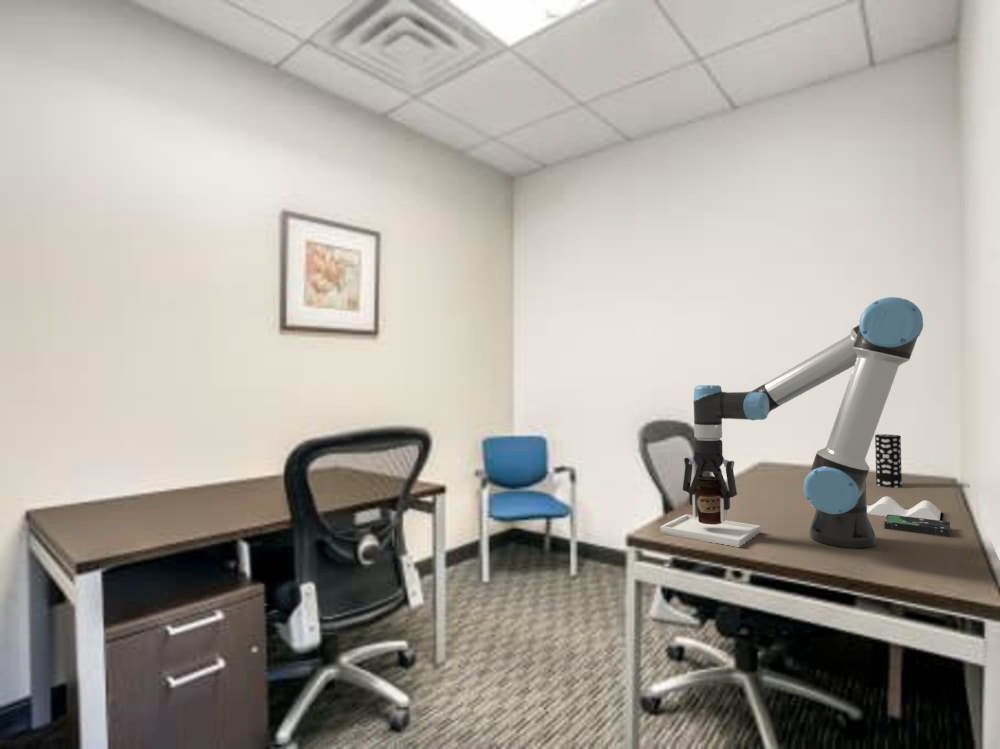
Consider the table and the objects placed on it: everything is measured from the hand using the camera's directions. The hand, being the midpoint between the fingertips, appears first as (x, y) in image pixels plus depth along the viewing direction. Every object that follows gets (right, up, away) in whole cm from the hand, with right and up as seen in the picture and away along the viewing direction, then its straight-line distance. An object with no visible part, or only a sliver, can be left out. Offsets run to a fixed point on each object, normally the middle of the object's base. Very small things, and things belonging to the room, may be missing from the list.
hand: (709, 518), depth 158 cm
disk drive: (+60, -4, +1) cm, 60 cm away
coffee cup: (0, -1, 0) cm, 1 cm away
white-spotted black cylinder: (+95, -3, +61) cm, 113 cm away
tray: (0, -4, 0) cm, 4 cm away
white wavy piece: (+63, -4, +22) cm, 67 cm away
